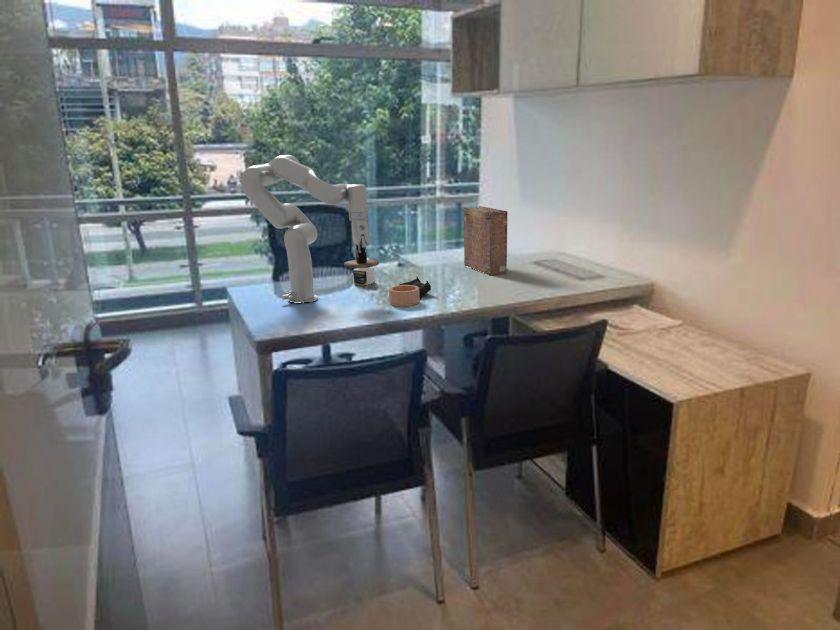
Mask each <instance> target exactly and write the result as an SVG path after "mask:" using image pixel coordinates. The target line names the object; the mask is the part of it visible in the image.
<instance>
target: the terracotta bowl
mask: <svg viewBox="0 0 840 630" xmlns="http://www.w3.org/2000/svg"><path fill="white" fill-rule="evenodd" d="M388 302H389V304H390V305H391V306H393V307H400V308H402V307H413V306H416V305H418V304H420V297H419V287H417V286H414V285H400V284H398V285H394V286H390V287H389V288H388Z"/></svg>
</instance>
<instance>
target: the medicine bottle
mask: <svg viewBox="0 0 840 630" xmlns="http://www.w3.org/2000/svg"><path fill="white" fill-rule="evenodd" d="M367 259H370V258H368V257H367ZM352 271H353V284H354V285H355V284H357V286H364V285H367V286H369V285H368V284H370V285H371V283H372V284H374V283H375V282H376V281H375V280H376V279H375V276H376V275H375V267H368V268H353V270H352ZM373 282H374V283H373Z"/></svg>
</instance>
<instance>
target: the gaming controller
mask: <svg viewBox="0 0 840 630" xmlns="http://www.w3.org/2000/svg"><path fill="white" fill-rule="evenodd" d="M399 285H414V286H417V287H419V298H422V297H423V296H425V295H427V293H429V292H430V291H431V288H432V285H431V284H430V282H429V281H428V280H426V282H425V283H424V282H422V281H421V280H420V278H419V277H418V276H416V278H414V279H413V280H410V281H407V282H406V281H405V282H403V283H400V284H399Z"/></svg>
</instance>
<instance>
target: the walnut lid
mask: <svg viewBox="0 0 840 630" xmlns="http://www.w3.org/2000/svg"><path fill="white" fill-rule="evenodd" d="M358 253H359V250H356V249H355V259H352V260H348V261H345V262H344V263H343V264H344V267H345V268H348V269H356V268H368V267H372V268H375V267H376V266H378V265H380V262H379V260H376V259H370V258H369V259H367V262H364V263H359V256H358Z"/></svg>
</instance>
